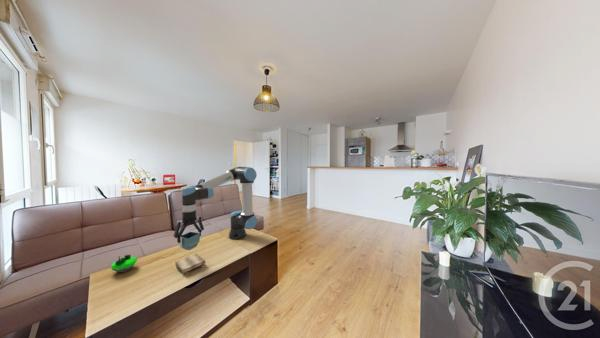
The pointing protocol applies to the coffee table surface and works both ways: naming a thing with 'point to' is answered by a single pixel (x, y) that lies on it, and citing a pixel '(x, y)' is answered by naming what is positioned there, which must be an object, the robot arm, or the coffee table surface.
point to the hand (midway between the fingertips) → (189, 244)
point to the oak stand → (190, 263)
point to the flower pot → (190, 240)
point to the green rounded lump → (124, 263)
